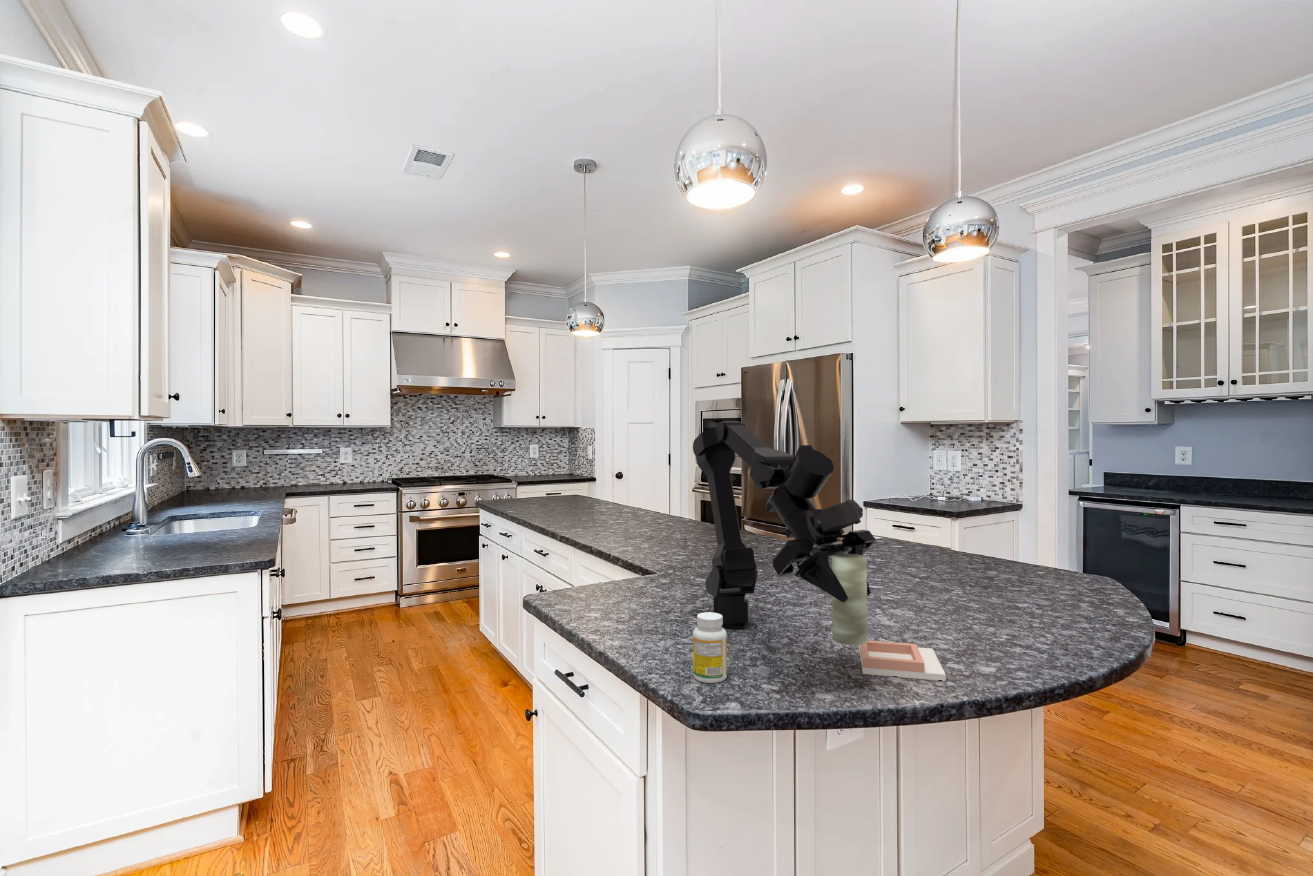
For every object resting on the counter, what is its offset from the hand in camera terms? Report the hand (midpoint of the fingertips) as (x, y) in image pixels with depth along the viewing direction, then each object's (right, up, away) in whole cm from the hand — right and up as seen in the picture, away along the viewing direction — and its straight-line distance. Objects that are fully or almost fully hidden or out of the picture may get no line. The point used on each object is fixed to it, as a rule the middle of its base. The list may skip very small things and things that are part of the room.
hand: (857, 597), depth 92 cm
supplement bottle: (-22, -14, +5) cm, 26 cm away
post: (-1, -7, +1) cm, 7 cm away
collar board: (+10, -13, +10) cm, 19 cm away
